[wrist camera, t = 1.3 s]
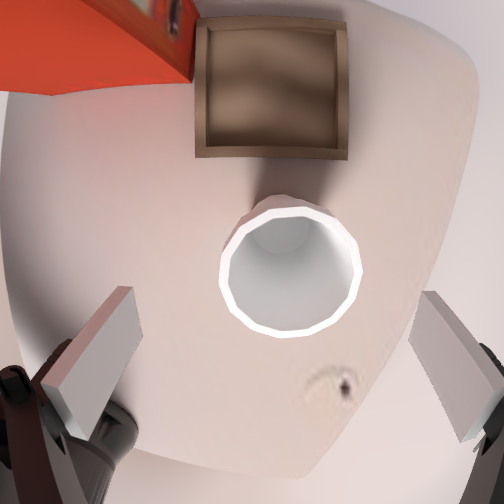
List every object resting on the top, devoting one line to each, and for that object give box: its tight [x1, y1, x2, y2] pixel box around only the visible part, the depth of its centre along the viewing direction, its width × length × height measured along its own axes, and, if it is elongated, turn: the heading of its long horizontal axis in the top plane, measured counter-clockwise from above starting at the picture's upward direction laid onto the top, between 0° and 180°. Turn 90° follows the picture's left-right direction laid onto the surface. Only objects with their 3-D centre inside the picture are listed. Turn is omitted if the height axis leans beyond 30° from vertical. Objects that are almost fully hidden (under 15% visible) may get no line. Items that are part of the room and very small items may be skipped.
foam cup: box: [219, 194, 363, 338], centre depth 26 cm, size 10×9×13 cm
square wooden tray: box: [195, 16, 349, 160], centre depth 26 cm, size 14×14×2 cm
